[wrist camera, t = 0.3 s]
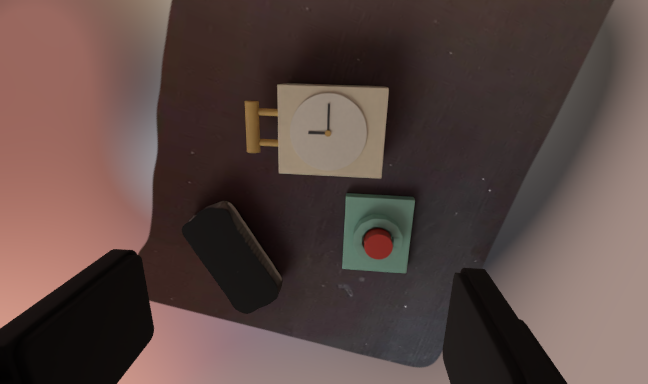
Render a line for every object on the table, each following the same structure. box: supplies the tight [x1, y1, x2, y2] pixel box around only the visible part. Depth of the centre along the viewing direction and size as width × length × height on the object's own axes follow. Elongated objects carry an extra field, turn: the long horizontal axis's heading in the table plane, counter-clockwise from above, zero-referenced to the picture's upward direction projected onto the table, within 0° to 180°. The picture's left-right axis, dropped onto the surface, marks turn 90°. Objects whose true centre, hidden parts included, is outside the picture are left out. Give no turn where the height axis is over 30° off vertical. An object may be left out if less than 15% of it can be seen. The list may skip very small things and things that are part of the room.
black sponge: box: [182, 201, 282, 314], centre depth 49 cm, size 16×8×4 cm, turn 29°
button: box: [364, 228, 393, 259], centre depth 45 cm, size 4×4×2 cm
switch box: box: [342, 193, 415, 273], centre depth 47 cm, size 11×9×3 cm
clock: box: [245, 83, 389, 178], centre depth 41 cm, size 10×16×6 cm, turn 88°
